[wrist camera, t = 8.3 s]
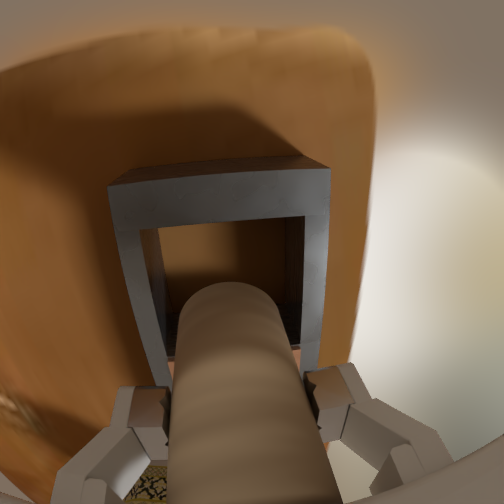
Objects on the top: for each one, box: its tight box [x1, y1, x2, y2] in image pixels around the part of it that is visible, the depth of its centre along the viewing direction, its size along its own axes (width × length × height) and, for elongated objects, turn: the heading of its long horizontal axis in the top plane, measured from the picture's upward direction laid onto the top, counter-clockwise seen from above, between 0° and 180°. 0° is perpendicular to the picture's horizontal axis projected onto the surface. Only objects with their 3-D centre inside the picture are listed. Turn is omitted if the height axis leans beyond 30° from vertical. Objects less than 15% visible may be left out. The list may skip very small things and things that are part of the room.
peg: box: [166, 282, 343, 504], centre depth 9 cm, size 4×4×8 cm
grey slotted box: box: [107, 156, 331, 397], centre depth 19 cm, size 22×9×4 cm, turn 2°
